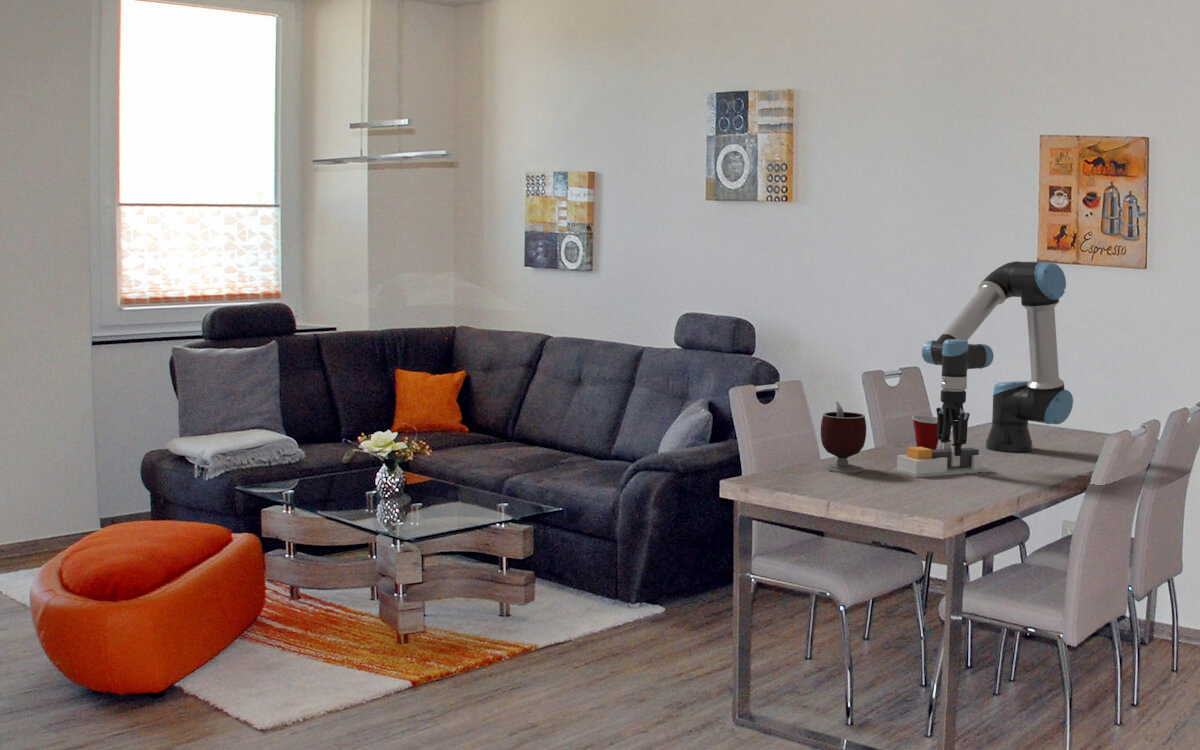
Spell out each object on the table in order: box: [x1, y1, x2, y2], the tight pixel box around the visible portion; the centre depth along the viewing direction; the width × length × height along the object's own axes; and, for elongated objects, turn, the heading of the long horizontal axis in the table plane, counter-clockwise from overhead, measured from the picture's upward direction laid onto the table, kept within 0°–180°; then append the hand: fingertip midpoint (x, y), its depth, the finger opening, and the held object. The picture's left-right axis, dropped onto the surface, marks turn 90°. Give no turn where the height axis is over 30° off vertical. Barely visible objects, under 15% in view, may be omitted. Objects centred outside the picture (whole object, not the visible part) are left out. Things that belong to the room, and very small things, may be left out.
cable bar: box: [906, 446, 980, 467], centre depth 388 cm, size 23×6×6 cm, turn 111°
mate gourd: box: [820, 401, 867, 474], centre depth 390 cm, size 16×14×20 cm
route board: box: [894, 454, 991, 478], centre depth 388 cm, size 27×11×5 cm, turn 111°
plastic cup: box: [911, 415, 940, 450], centre depth 419 cm, size 11×11×12 cm
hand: (950, 464), depth 389 cm, fingers closed on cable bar, 4 cm apart
